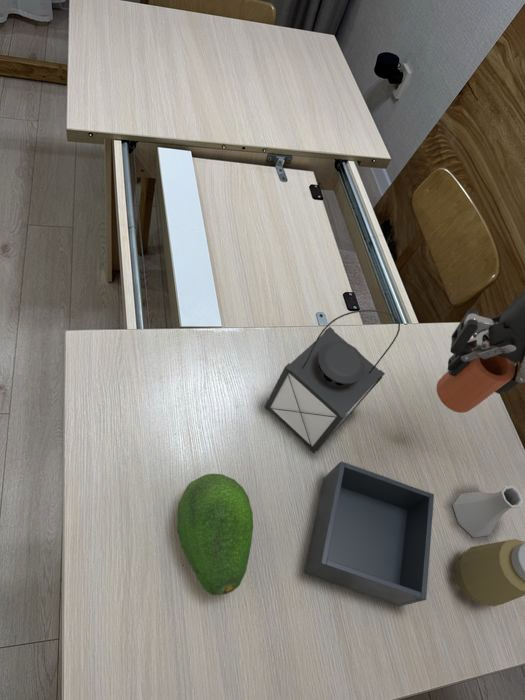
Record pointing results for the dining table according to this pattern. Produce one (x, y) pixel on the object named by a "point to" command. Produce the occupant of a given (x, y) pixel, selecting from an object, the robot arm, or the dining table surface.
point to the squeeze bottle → (493, 572)
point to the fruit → (216, 531)
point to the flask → (484, 509)
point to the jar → (474, 382)
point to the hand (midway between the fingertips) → (473, 378)
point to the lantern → (323, 386)
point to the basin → (372, 535)
